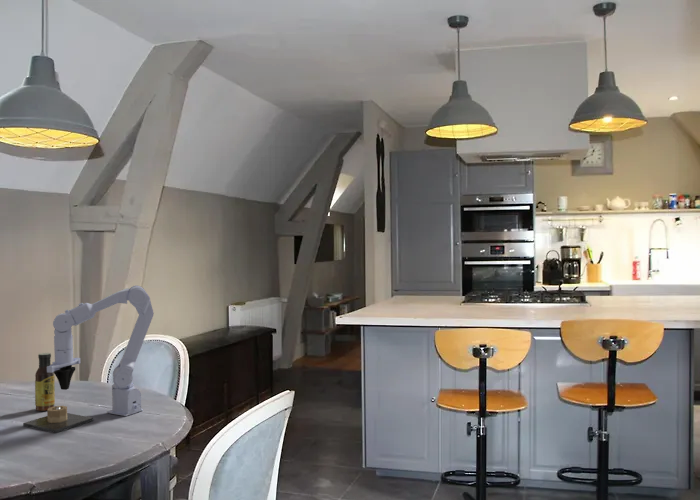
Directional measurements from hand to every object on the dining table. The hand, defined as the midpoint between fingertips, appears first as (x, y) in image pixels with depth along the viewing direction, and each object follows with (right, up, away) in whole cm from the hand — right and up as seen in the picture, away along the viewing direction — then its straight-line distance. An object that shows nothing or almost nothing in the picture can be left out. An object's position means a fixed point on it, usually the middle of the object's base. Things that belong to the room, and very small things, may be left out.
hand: (64, 389), depth 213 cm
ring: (0, -9, -5) cm, 11 cm away
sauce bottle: (-12, -10, +11) cm, 19 cm away
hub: (0, -10, -5) cm, 11 cm away
